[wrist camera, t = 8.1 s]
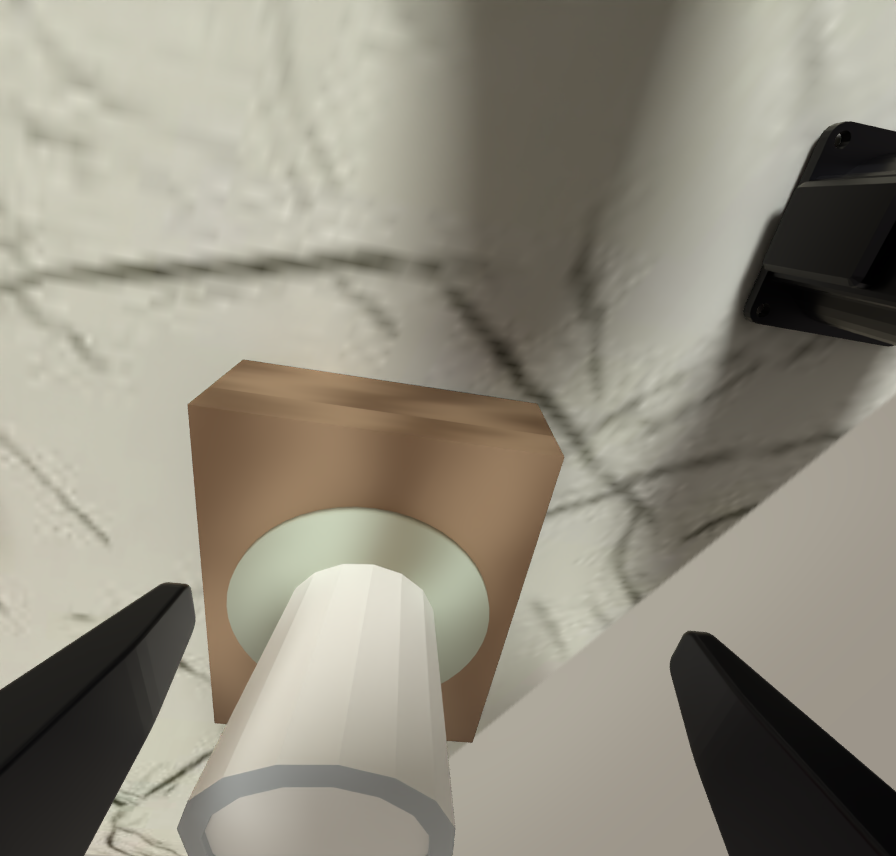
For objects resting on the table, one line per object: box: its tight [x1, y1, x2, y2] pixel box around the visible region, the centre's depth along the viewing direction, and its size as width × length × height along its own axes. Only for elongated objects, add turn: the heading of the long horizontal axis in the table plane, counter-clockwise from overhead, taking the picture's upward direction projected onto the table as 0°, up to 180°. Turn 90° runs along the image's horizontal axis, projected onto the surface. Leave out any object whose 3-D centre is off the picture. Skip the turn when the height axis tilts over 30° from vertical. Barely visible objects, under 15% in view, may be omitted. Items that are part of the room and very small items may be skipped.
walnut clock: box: [188, 360, 564, 743], centre depth 20 cm, size 12×16×5 cm
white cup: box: [177, 564, 455, 856], centre depth 14 cm, size 7×7×7 cm
